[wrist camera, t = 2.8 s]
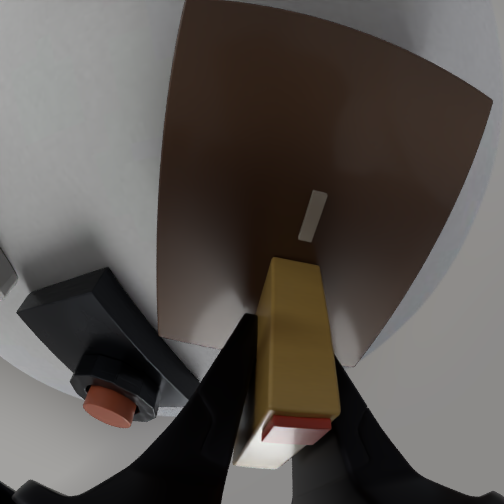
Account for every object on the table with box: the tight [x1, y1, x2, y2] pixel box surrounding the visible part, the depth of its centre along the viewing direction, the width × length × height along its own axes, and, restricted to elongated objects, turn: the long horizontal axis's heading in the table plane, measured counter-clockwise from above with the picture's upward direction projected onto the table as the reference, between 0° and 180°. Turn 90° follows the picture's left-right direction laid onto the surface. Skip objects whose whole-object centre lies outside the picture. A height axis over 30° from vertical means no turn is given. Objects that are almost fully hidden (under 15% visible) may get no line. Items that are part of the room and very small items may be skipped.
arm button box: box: [16, 267, 200, 422], centre depth 18 cm, size 12×9×4 cm
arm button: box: [83, 385, 137, 428], centre depth 17 cm, size 4×4×2 cm
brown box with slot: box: [157, 0, 493, 367], centre depth 11 cm, size 13×8×5 cm, turn 169°
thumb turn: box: [233, 257, 341, 469], centre depth 8 cm, size 5×1×5 cm, turn 169°
